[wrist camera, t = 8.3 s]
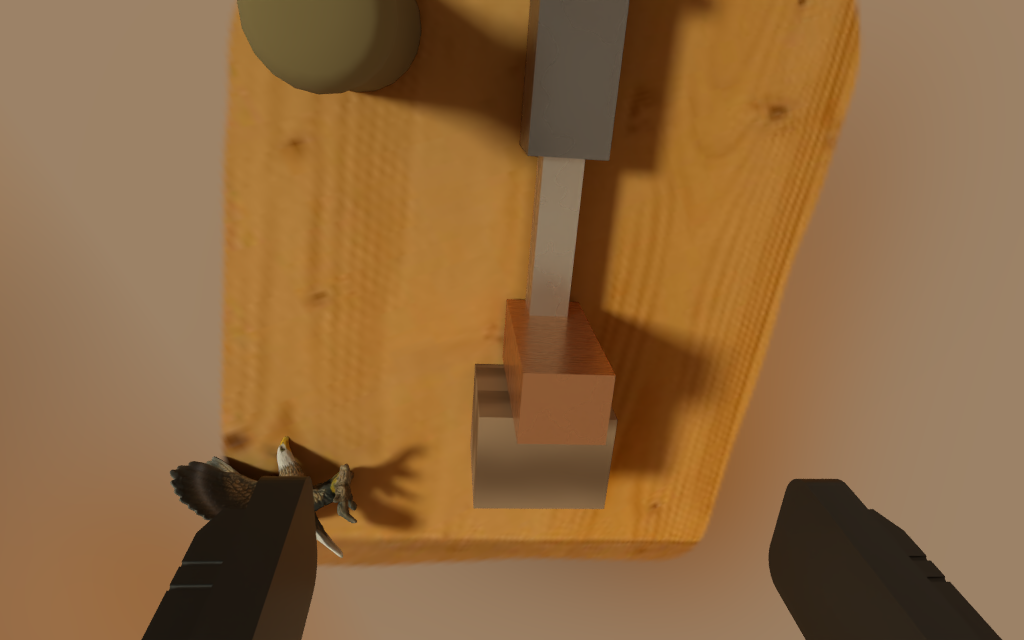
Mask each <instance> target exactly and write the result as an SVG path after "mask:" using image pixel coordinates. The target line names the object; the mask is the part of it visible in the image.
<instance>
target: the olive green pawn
mask: <svg viewBox="0 0 1024 640" xmlns="http://www.w3.org/2000/svg"><path fill="white" fill-rule="evenodd" d="M237 4H238V9H239V15H240V20H241V25H242V29H243V31H244V33H245V35H246V37H247V39H248V41H249V43H250V45H251V47H252V49H253V51H254V53H255V55H256V56H257V57H258V58H259V59H260V60H261V61H262V62H263V64H264V65H265V66H266V67H267V68H268V69H269V70H270V71H271V72H272V74H274V75H275V76H277V77H278V78H280V79H282V80H283V81H285V82H286V83H288V84H290V85H291V86H293V87H294V88H297V89H301V90H305V91H308V92H312V93H316V94H333V93H343V92H346V91H348V90H350V91H354V92H363V91H376V90H378V89H381V88H383V87H385V86H388V85H390V84H393V83H394V82H395V81H396V80H397V79H398V78H399V77H400V76H402V75H403V74H404V73H405V72H406V71H407V70H408V68H409V66H410V65H411V63H412V61H413V59H414V57H415V56H416V54H417V51H418V46H419V41H420V36H421V23H420V12H419V8H418V6H417V3H416V0H237Z"/></svg>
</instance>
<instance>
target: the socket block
mask: <svg viewBox="0 0 1024 640" xmlns="http://www.w3.org/2000/svg"><path fill="white" fill-rule="evenodd" d="M616 427H617V418H616V415H615V413H614V411H613V409H612V407H611V411H610V418H609V424H608V431H607V438H606V445H565V444H517V439H516V434H515V428H514V422H513V416H512V410H511V404H510V398H509V392H508V386H507V380H506V374H505V368H504V365H492V364H475V378H474V395H473V412H472V430H471V464H472V484H473V505H474V508H519V509H604V505H605V499H606V492H607V486H608V479H609V473H610V466H611V460H612V453H613V447H614V440H615V434H616Z"/></svg>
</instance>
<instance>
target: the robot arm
mask: <svg viewBox="0 0 1024 640" xmlns="http://www.w3.org/2000/svg"><path fill="white" fill-rule="evenodd" d="M769 568H770V573H771V577H772V580H773V583H774V585H775V587H776V589H777V591H778V592H779V594H780V596H781V598H782V599H783V601H784V603H785V604H786V606H787V608H788V610H789V611H790V613H791V615H792V617H793V618H794V620H795V622H796V624H797V625H798V627H799V629H800V631H801V632H802V634H803V636H804V637H805V639H806V640H1002V639H1001V638H1000V637H999V636H998V635H997V634H996V633H995V632H994V630H993V629H992V628H991V627H990V626H989V625H988V624H987V623H986V622H985V621H984V619H983V618H982V617H981V616H980V615H979V614H978V613H977V611H976V610H975V609H974V608H973V607H972V606H971V605H970V604H969V603H968V601H967V600H966V599H965V598H964V597H963V596H962V595H961V594H960V593H959V591H958V590H957V589H956V588H955V587H954V586H953V585H952V584H951V583H950V582H946V581H945V576H944V575H943V574H942V573H941V571H940V570H939V569H938V568H937V567H936V566H935V565H934V564H933V563H932V562H931V561H927V559H926V555H925V554H924V553H923V551H922V550H921V549H920V548H919V547H918V546H917V545H916V544H915V543H914V541H913V540H912V539H911V538H910V537H909V536H908V535H907V534H906V533H905V531H904V530H902V529H901V528H899V527H898V526H896V525H895V524H893V523H892V522H890V521H889V520H888V519H886V518H885V517H883V516H882V515H880V514H879V513H878V512H876V511H875V510H873V509H870V510H869V509H867V508H866V506H865V505H864V504H863V503H862V502H861V501H860V499H859V498H858V497H857V496H856V495H855V494H854V493H853V492H852V490H851V489H850V488H849V487H848V486H847V485H846V484H845V483H844V482H843V481H841V480H839V479H794V480H792V481H791V482H790V483H789V484H788V486H787V489H786V492H785V495H784V498H783V502H782V505H781V509H780V513H779V516H778V520H777V523H776V527H775V530H774V534H773V537H772V541H771V544H770V548H769ZM316 570H317V540H316V526H315V512H314V498H313V485H312V480H311V478H310V476H262V477H260V479H259V480H258V482H257V484H256V487H255V489H254V491H253V493H252V496H251V498H250V500H249V503H248V505H247V507H246V509H222V510H221V511H220V512H219V513H218V514H217V515H216V516H215V517H214V518H213V519H211V520H210V521H209V522H208V523H207V524H206V525H205V526H204V527H203V528H201V530H199V531H198V532H197V533H196V535H195V537H194V539H193V541H192V543H191V545H190V547H189V549H188V551H187V552H186V554H185V556H184V559H183V560H182V566H181V567H179V568H178V570H177V572H176V574H175V576H174V578H173V580H172V582H171V583H170V589H169V591H166V593H165V595H164V597H163V599H162V601H161V603H160V605H159V607H158V609H157V611H156V613H155V615H154V617H153V619H152V620H151V622H150V625H149V626H148V628H147V630H146V632H145V634H144V636H143V638H142V640H301V639H302V634H303V631H304V627H305V622H306V619H307V615H308V611H309V607H310V603H311V599H312V595H313V591H314V586H315V579H316Z"/></svg>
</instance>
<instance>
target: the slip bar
mask: <svg viewBox="0 0 1024 640" xmlns="http://www.w3.org/2000/svg"><path fill="white" fill-rule="evenodd" d="M584 165H585V159H573V158H557V157H542V156H538V163H537V175H536V186H535V198H534V209H533V221H532V232H531V244H530V255H529V267H528V279H527V290H526V300H512V299H507V305H506V318H505V331H504V345H503V362H504V368H505V374H506V380H507V386H508V392H509V398H510V404H511V410H512V416H513V422H514V428H515V434H516V439H517V444H565V445H606V438H607V431H608V424H609V418H610V411H611V404H612V397H613V391H614V384H615V377H616V375H615V373H614V371H613V369H612V367H611V365H610V363H609V361H608V359H607V358H606V356H605V354H604V352H603V350H602V348H601V346H600V344H599V342H598V340H597V338H596V336H595V334H594V332H593V330H592V328H591V326H590V324H589V322H588V320H587V318H586V316H585V314H584V312H583V310H582V308H581V306H580V304H579V303H578V302H569V298H570V289H571V280H572V272H573V263H574V254H575V245H576V236H577V227H578V218H579V209H580V201H581V192H582V183H583V174H584Z"/></svg>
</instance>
